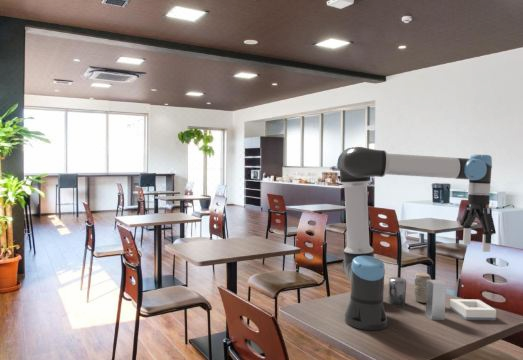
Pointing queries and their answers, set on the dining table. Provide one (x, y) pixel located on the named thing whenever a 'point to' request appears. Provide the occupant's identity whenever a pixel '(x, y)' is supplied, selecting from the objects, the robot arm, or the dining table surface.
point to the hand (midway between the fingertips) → (475, 247)
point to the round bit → (397, 291)
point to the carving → (421, 286)
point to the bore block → (472, 309)
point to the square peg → (436, 299)
